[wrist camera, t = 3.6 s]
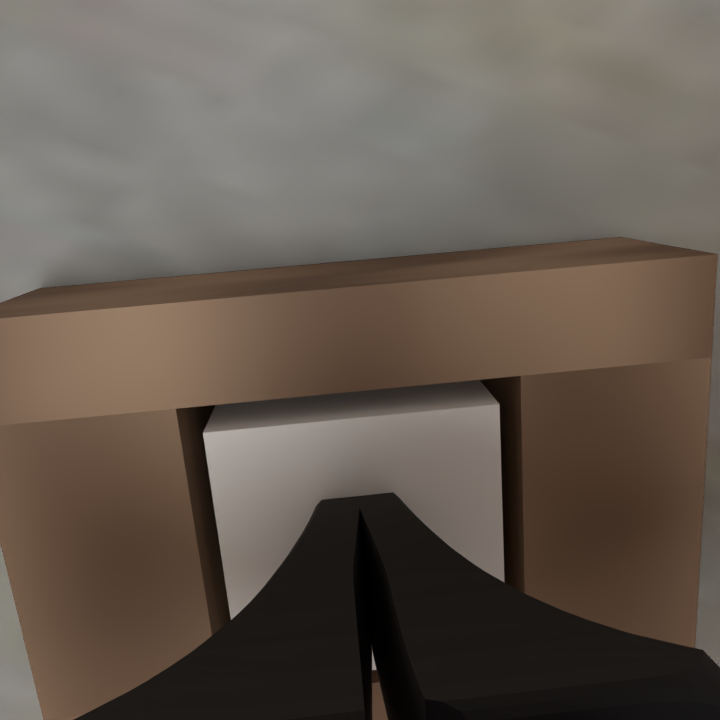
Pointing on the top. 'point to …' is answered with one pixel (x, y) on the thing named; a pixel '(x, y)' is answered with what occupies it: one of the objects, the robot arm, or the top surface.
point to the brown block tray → (339, 375)
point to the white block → (354, 470)
